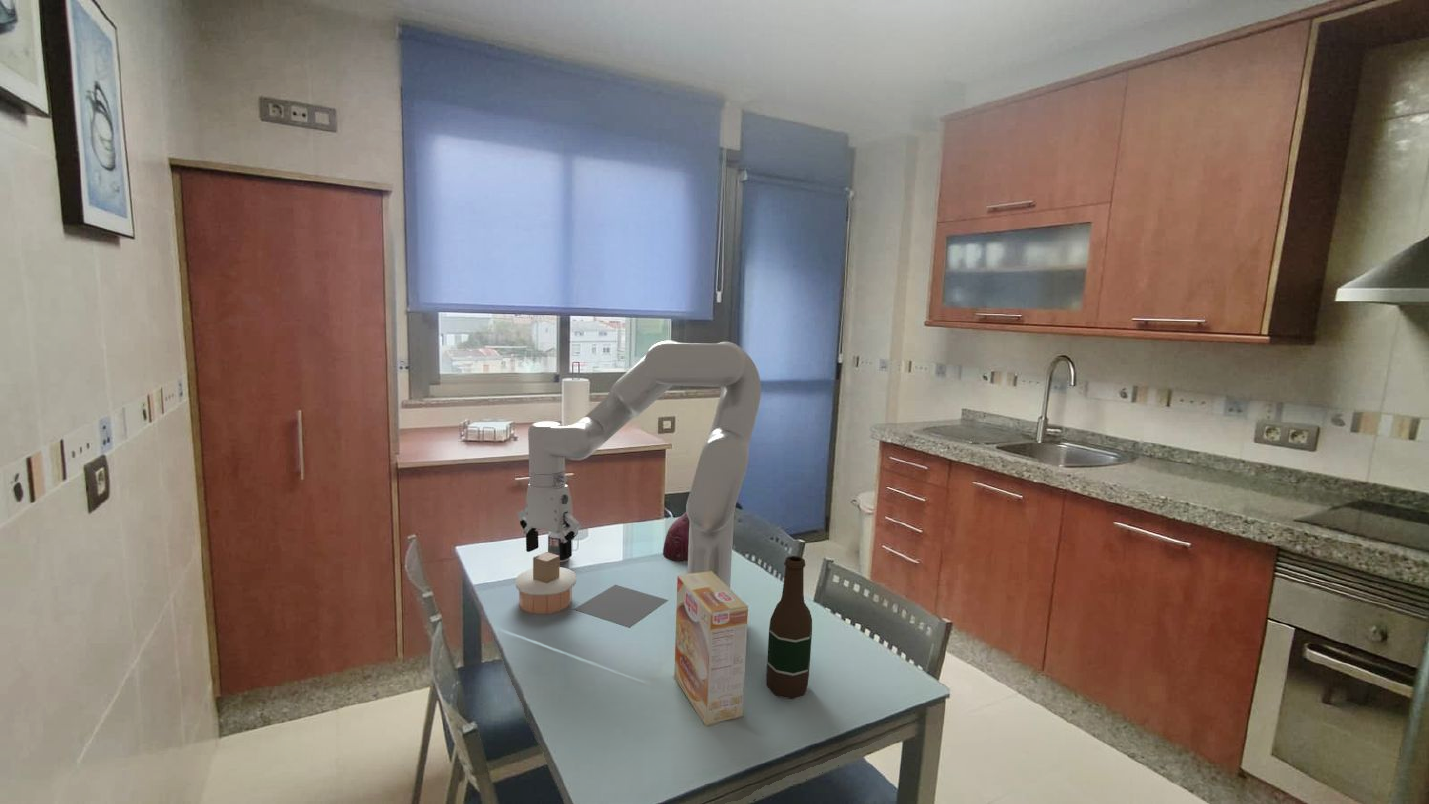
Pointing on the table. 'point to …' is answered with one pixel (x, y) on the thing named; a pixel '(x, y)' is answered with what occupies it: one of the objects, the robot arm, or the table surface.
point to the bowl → (545, 602)
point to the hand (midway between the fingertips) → (548, 554)
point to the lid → (546, 576)
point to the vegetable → (677, 540)
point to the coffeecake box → (710, 646)
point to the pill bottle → (555, 544)
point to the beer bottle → (790, 636)
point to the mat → (621, 605)
